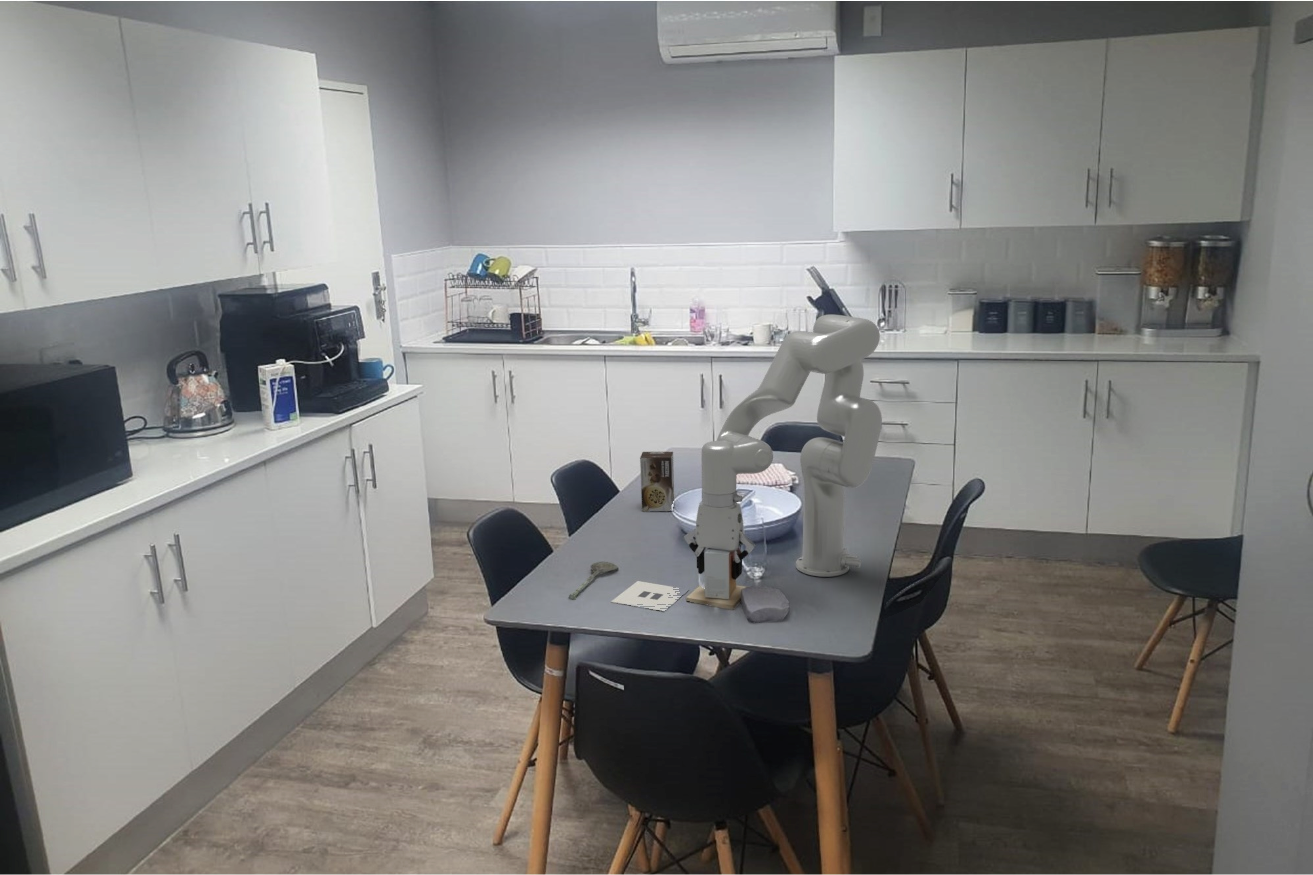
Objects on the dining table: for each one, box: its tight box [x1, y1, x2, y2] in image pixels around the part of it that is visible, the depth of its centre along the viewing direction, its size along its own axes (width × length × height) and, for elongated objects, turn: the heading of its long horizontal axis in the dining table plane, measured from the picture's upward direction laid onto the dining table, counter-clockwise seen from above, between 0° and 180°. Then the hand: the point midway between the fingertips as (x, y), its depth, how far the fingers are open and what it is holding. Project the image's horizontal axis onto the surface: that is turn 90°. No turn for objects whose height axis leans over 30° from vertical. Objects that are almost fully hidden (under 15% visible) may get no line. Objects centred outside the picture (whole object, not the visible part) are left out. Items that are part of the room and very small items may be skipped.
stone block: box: [740, 585, 790, 624], centre depth 211 cm, size 12×5×10 cm
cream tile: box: [610, 580, 682, 612], centre depth 220 cm, size 13×13×1 cm
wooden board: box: [685, 584, 746, 611], centre depth 219 cm, size 11×11×1 cm
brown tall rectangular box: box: [639, 451, 675, 512], centre depth 280 cm, size 9×6×16 cm
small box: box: [704, 548, 737, 599], centre depth 218 cm, size 8×6×10 cm
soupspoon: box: [568, 560, 619, 600], centre depth 229 cm, size 22×3×7 cm
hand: (719, 574), depth 218 cm, fingers open, 7 cm apart
